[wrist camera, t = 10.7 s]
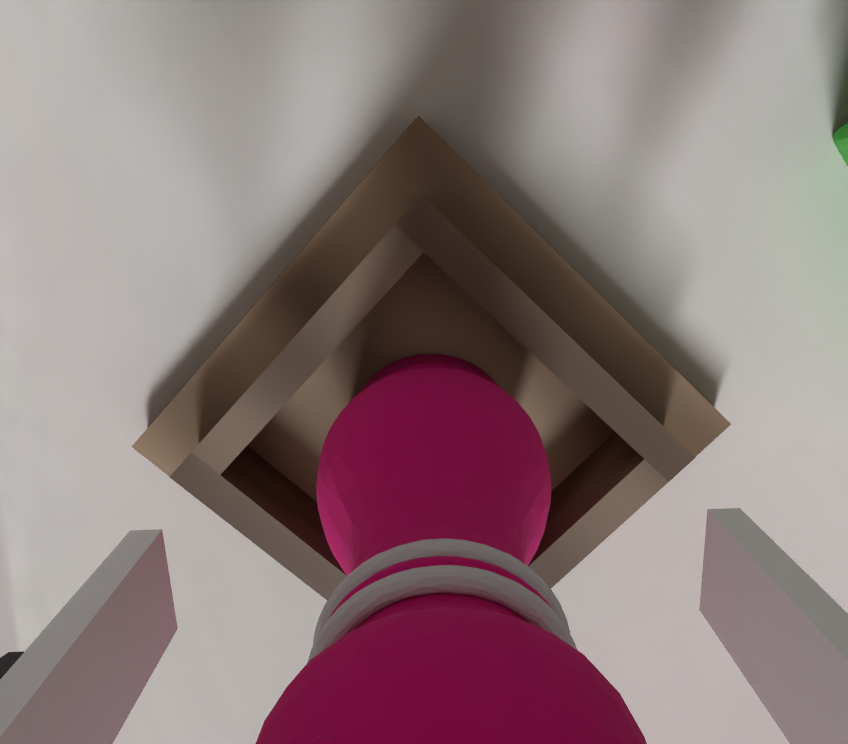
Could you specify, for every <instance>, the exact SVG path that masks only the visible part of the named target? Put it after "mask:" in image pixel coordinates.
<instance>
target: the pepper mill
mask: <svg viewBox="0 0 848 744" xmlns="http://www.w3.org/2000/svg"><path fill="white" fill-rule="evenodd" d="M316 493H317V505H318V511H319V515H320V519H321V522H322V526H323V530H324V533H325V536H326V540H327V542H328V544H329V546H330V549H331V551H332V553H333V555H334V557H335V558H336V560H337V561H338V563H339V564H340V566H341V567H342V569H343V571H344V572H345V574H346V575H347V576H346V577H345V578H344V580H343V581H342V582H341V583H340V584H339V585H338V586H337V587H336V589H335V590H334V591H333V593H332V594H331V596H330V598H329V599H328V601H327V602H326V604H325V606H324V608H323V610H322V612H321V615H320V617H319V620H318V623H317V626H316V630H315V635H314V641H313V648H312V650H311V653H310V656H309V660H308V663H307V665H306V666H305V667H304V668H303V669H302V670H301V671H300V673H299V674H298V675H297V676H296V677H295V678H294V680H293V681H292V682H291V683H290V684H289V685H288V686H287V688H286V689H285V691H284V692H283V694H282V695H281V697H280V698H279V700H278V701H277V703H276V705H275V706H274V708H273V709H272V711H271V712H270V714H269V715H268V717H267V718H266V720H265V721H264V724H263V726H262V729H261V732H260V734H259V737H258V739H257V742H256V744H647V743H646V741H645V738H644V736H643V734H642V732H641V730H640V729H639V727H638V725H637V723H636V722H635V720H634V718H633V716H632V714H631V713H630V711H629V709H628V707H627V706H626V704H625V702H624V700H623V698H622V697H621V695H620V693H619V692H618V691H617V690H616V689H615V688H614V687H613V686H612V685H611V684H610V683H609V681H608V680H607V679H606V678H605V677H604V676H603V675H602V674H601V673H600V672H599V671H598V670H597V668H596V667H595V666H594V665H593V664H592V663H591V662H590V661H589V660H588V659H587V658H586V657H585V656H584V655H583V654H582V653H580V652H579V651H578V650H577V648H576V645H575V643H574V641H573V639H572V637H571V635H570V631H569V627H568V623H567V619H566V616H565V614H564V612H563V609H562V607H561V605H560V603H559V601H558V599H557V598H556V596H555V595H554V593H553V592H552V590H551V589H550V588H549V587H548V585H547V584H546V583H545V582H544V581H543V579H542V578H541V577H540V576H539V575H538V574H537V573H535V572H534V571H533V570H532V569H531V568H530V567H529V566H528V565H529V563H530V561H531V560H532V558H533V556H534V555H535V553H536V551H537V549H538V546H539V544H540V541H541V539H542V536H543V534H544V531H545V526H546V522H547V517H548V512H549V507H550V502H551V475H550V469H549V463H548V459H547V455H546V452H545V448H544V445H543V443H542V440H541V437H540V434H539V432H538V430H537V428H536V427H535V425H534V423H533V421H532V420H531V418H530V416H529V415H528V414H527V413H526V411H525V410H524V409H523V408H522V407H521V405H520V404H519V403H518V402H517V401H516V400H515V399H514V398H513V397H512V396H510V395H509V394H508V393H507V392H505V391H504V390H503V389H501V388H500V387H499V386H498V384H497V383H496V382H495V381H494V380H493V379H492V378H491V377H490V376H489V375H488V374H486V373H485V372H484V371H483V370H482V369H480V368H479V367H477V366H475V365H473V364H472V363H470V362H468V361H465V360H463V359H460V358H458V357H454V356H448V355H442V354H418V355H413V356H409V357H405V358H402V359H400V360H398V361H396V362H393V363H391V364H389V365H387V366H385V367H384V368H382V369H381V370H379V371H378V372H377V373H376V374H374V375H373V376H372V377H371V379H370V380H369V381H368V382H367V383H366V384H365V385H364V386H363V387H362V389H361V390H360V392H359V393H358V394H357V395H356V396H355V397H354V398H353V399H352V400H351V402H350V403H349V404H348V405H347V406H346V407H345V408H344V409H343V410H342V411H341V412H340V414H339V415H338V417H337V418H336V420H335V421H334V423H333V424H332V426H331V427H330V430H329V432H328V434H327V436H326V439H325V441H324V443H323V447H322V451H321V455H320V459H319V467H318V476H317V484H316Z"/></svg>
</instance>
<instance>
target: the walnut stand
mask: <svg viewBox="0 0 848 744" xmlns="http://www.w3.org/2000/svg"><path fill="white" fill-rule="evenodd" d="M418 354H442V355H448V356H454V357H458V358H460V359H463V360H465V361H468V362H470V363H472V364H473V365H475V366H477V367H479V368H480V369H482V370H483V371H484V372H485V373H486V374H488V375H489V376H490V377H491V378H492V379H493V380H494V381H495V382H496V383H497V384H498V386H499V387H500V388H501V389H503V390H504V391H505V392H507V393H508V394H509V395H510V396H512V397H513V398H514V399H515V400H516V401H517V402H518V403H519V404H520V405H521V407H522V408H523V409H524V410H525V411H526V413H527V414H528V415H529V416H530V418H531V420H532V421H533V423H534V425H535V427H536V428H537V430H538V432H539V434H540V437H541V440H542V443H543V445H544V448H545V452H546V455H547V459H548V463H549V469H550V475H551V502H550V507H549V512H548V517H547V522H546V526H545V531H544V534H543V536H542V539H541V541H540V544H539V546H538V549H537V551H536V553H535V555H534V556H533V558H532V560H531V561H530V563H529V565H528V566H529V567H530V568H531V569H532V570H533V571H534V572H535V573H537V574H538V575H539V576H540V577H541V578H542V579H543V581H544V582H545V583H546V584H547V585H548V587H549V588H550V589H551V588H552V587H553V586H554V585H555V584H556V583H557V582H559V581H560V580H561V579H562V578H563V577H564V576H565V575H566V574H567V573H569V572H570V571H571V570H572V569H573V568H574V567H575V566H576V565H577V564H578V563H580V562H581V561H582V560H583V559H584V558H585V557H586V556H587V555H588V554H589V553H591V552H592V551H593V550H594V549H595V548H596V547H597V546H598V545H599V544H601V543H602V542H603V541H604V540H605V539H606V538H607V537H608V536H609V535H610V534H612V533H613V532H614V531H615V530H616V529H617V528H618V527H619V526H620V525H621V524H623V523H624V522H625V521H626V520H627V519H628V518H629V517H630V516H631V515H633V514H634V513H635V512H636V511H637V510H638V509H639V508H640V507H641V506H642V505H644V504H645V503H646V502H647V501H648V500H649V499H650V498H651V497H652V496H653V495H655V494H656V493H657V492H658V491H659V490H660V489H661V488H662V487H663V486H665V485H666V484H667V483H668V482H669V481H670V480H671V479H672V478H673V477H674V476H676V475H677V474H678V473H679V472H680V471H681V470H682V469H683V468H684V467H685V466H687V465H688V464H689V463H690V462H691V461H692V460H693V459H694V458H695V457H696V456H697V455H698V454H699V453H700V452H701V451H702V450H703V449H704V448H705V447H707V446H708V445H709V444H710V443H711V442H712V441H713V440H714V439H715V438H716V437H718V436H719V435H720V434H721V433H722V432H723V431H724V430H725V429H726V428H728V427H729V426H730V425H731V424H730V423H729V422H728V421H727V420H726V419H725V418H724V417H723V416H722V415H721V414H720V413H719V412H718V411H717V410H716V409H715V408H714V407H713V406H712V405H711V404H710V403H709V402H708V401H707V400H706V399H705V398H704V397H703V396H702V395H701V394H700V393H699V392H698V391H697V390H696V389H695V388H694V387H693V386H692V385H691V384H690V383H689V382H688V381H687V380H686V379H685V378H684V377H683V376H682V375H681V374H680V373H679V372H678V371H677V370H676V369H675V368H674V367H673V366H672V365H671V364H670V363H669V362H668V361H667V360H666V359H665V358H664V357H663V356H662V355H661V354H660V353H659V352H658V351H656V350H655V349H654V348H653V347H652V346H651V345H650V344H649V343H648V342H647V341H646V340H645V339H644V338H643V337H642V336H641V335H640V334H639V333H638V332H637V331H636V330H635V329H634V328H633V327H632V326H631V325H630V324H629V323H628V322H627V321H626V320H625V319H624V318H623V317H622V316H621V315H620V314H619V313H618V312H617V311H616V310H615V309H614V308H613V307H612V306H611V305H610V304H609V303H608V302H607V301H606V300H605V299H604V298H603V297H602V296H601V295H600V294H599V293H598V292H597V291H596V290H595V289H594V288H593V287H592V286H591V285H590V284H589V283H588V282H587V281H586V280H585V279H584V278H583V277H582V276H580V275H579V274H578V273H577V272H576V271H575V270H574V269H573V268H572V267H571V266H570V265H569V264H568V263H567V262H566V261H565V260H564V259H563V258H562V257H561V256H560V255H559V254H558V253H557V252H556V251H555V250H554V249H553V248H552V247H551V246H550V245H549V244H548V243H547V242H546V241H545V240H544V239H543V238H542V237H541V236H540V235H539V234H538V233H537V232H536V231H535V230H534V229H533V228H532V227H531V226H530V225H529V224H528V223H527V222H526V221H525V220H524V219H523V218H522V217H521V216H520V215H519V214H518V213H517V212H516V211H515V210H514V209H513V208H512V207H511V206H510V205H509V204H508V203H507V202H505V201H504V200H503V199H502V198H501V197H500V196H499V195H498V194H497V193H496V192H495V191H494V190H493V189H492V188H491V187H490V186H489V185H488V184H487V183H486V182H485V181H484V180H483V179H482V178H481V177H480V176H479V175H478V174H477V173H476V172H475V171H474V170H473V169H472V168H471V167H470V166H469V165H468V164H467V163H466V162H465V161H464V160H463V159H462V158H461V157H460V156H459V155H458V154H457V153H456V152H455V151H454V150H453V149H452V148H451V147H450V146H449V145H448V144H447V143H446V142H445V141H444V140H443V139H442V138H441V137H440V136H439V135H438V134H437V133H436V132H435V131H434V130H433V129H432V128H431V127H429V126H428V125H427V124H426V123H425V122H424V121H423V120H422V119H421V118H420V117H419V116H418V117H417V118H416V119H415V120H414V121H413V123H412V124H411V125H410V126H409V127H408V128H407V130H406V131H405V132H404V133H403V134H402V135H401V136H400V138H399V139H398V140H397V141H396V142H395V143H394V145H393V146H392V147H391V148H390V149H389V150H388V151H387V153H386V154H385V155H384V156H383V157H382V158H381V160H380V161H379V162H378V163H377V164H376V165H375V166H374V168H373V169H372V170H371V171H370V172H369V173H368V175H367V176H366V177H365V178H364V179H363V180H362V181H361V183H360V184H359V185H358V186H357V187H356V188H355V190H354V191H353V192H352V193H351V194H350V195H349V196H348V198H347V199H346V200H345V201H344V202H343V203H342V205H341V206H340V207H339V208H338V209H337V210H336V211H335V213H334V214H333V215H332V216H331V217H330V218H329V220H328V221H327V222H326V223H325V224H324V225H323V226H322V228H321V229H320V230H319V231H318V232H317V233H316V235H315V236H314V237H313V238H312V239H311V240H310V241H309V243H308V244H307V245H306V246H305V247H304V248H303V250H302V251H301V252H300V253H299V254H298V255H297V256H296V258H295V259H294V260H293V261H292V262H291V263H290V265H289V266H288V267H287V268H286V269H285V270H284V271H283V273H282V274H281V275H280V276H279V277H278V278H277V280H276V281H275V282H274V283H273V284H272V285H271V286H270V288H269V289H268V290H267V291H266V292H265V293H264V295H263V296H262V297H261V298H260V299H259V300H258V301H257V303H256V304H255V305H254V306H253V307H252V308H251V310H250V311H249V312H248V313H247V314H246V315H245V316H244V318H243V319H242V320H241V321H240V322H239V323H238V325H237V326H236V327H235V328H234V329H233V330H232V331H231V333H230V334H229V335H228V336H227V337H226V338H225V340H224V341H223V342H222V343H221V344H220V345H219V347H218V348H217V349H216V350H215V351H214V352H213V353H212V355H211V356H210V357H209V358H208V359H207V360H206V362H205V363H204V364H203V365H202V366H201V367H200V368H199V370H198V371H197V372H196V373H195V374H194V375H193V377H192V378H191V379H190V380H189V381H188V382H187V383H186V385H185V386H184V387H183V388H182V389H181V390H180V392H179V393H178V394H177V395H176V396H175V397H174V398H173V400H172V401H171V402H170V403H169V404H168V405H167V407H166V408H165V409H164V410H163V411H162V412H161V413H160V415H159V416H158V417H157V418H156V419H155V420H154V422H153V423H152V424H151V425H150V426H149V427H148V428H147V430H146V431H145V432H144V433H143V434H142V435H141V437H140V438H139V439H138V440H137V441H136V442H135V443H134V445H133V446H132V447H133V448H134V449H135V450H136V451H138V452H139V453H140V454H142V455H143V456H144V457H145V458H147V459H148V460H149V461H151V462H152V463H153V464H154V465H156V466H157V467H158V468H160V469H161V470H162V471H163V472H165V473H166V474H167V475H168V476H170V478H171V479H173V480H174V481H175V482H176V483H178V484H179V485H180V486H182V487H183V488H184V489H185V490H187V491H188V492H189V493H191V494H192V495H193V496H194V497H196V498H197V499H198V500H200V501H201V502H202V503H203V504H205V505H206V506H207V507H208V508H210V509H211V510H212V511H214V512H215V513H216V514H217V515H219V516H220V517H221V518H223V519H224V520H225V521H226V522H228V523H229V524H230V525H232V526H233V527H234V528H235V529H237V530H238V531H239V532H240V533H242V534H243V535H244V536H246V537H247V538H248V539H249V540H251V541H252V542H253V543H255V544H256V545H257V546H258V547H260V548H261V549H262V550H264V551H265V552H266V553H267V554H269V555H270V556H271V557H272V558H274V559H275V560H276V561H278V562H279V563H280V564H281V565H283V566H284V567H285V568H287V569H288V570H289V571H290V572H292V573H293V574H294V575H295V576H297V577H298V578H299V579H301V580H302V581H303V582H304V583H306V584H307V585H308V586H310V587H311V588H312V589H313V590H315V591H316V592H317V593H319V594H320V595H321V596H322V597H324V598H325V599H326V600H327V601H328V599H329V598H330V596H331V594H332V593H333V591H334V590H335V589H336V587H337V586H338V585H339V584H340V583H341V582H342V581H343V580H344V578H345V577H346V576H347V575H346V574H345V572H344V571H343V569H342V567H341V566H340V564H339V563H338V561H337V560H336V558H335V557H334V555H333V553H332V551H331V549H330V546H329V544H328V542H327V540H326V536H325V533H324V530H323V526H322V522H321V519H320V515H319V511H318V505H317V493H316V484H317V476H318V467H319V459H320V455H321V451H322V447H323V443H324V441H325V439H326V436H327V434H328V432H329V430H330V427H331V426H332V424H333V423H334V421H335V420H336V418H337V417H338V415H339V414H340V412H341V411H342V410H343V409H344V408H345V407H346V406H347V405H348V404H349V403H350V402H351V400H352V399H353V398H354V397H355V396H356V395H357V394H358V393H359V392H360V390H361V389H362V387H363V386H364V385H365V384H366V383H367V382H368V381H369V380H370V379H371V377H372V376H373V375H374V374H376V373H377V372H378V371H379V370H381V369H382V368H384V367H385V366H387V365H389V364H391V363H393V362H396V361H398V360H400V359H402V358H405V357H409V356H413V355H418Z"/></svg>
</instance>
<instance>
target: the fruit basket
mask: <svg viewBox="0 0 848 744" xmlns="http://www.w3.org/2000/svg"><path fill="white" fill-rule="evenodd" d="M833 141H834V143H835V145H836V146H837V148H838V150H839V152H840V153H841V155H842V157H843V159H844V160H845V162H846V164H847V165H848V123H846V124H845V125H843V126H842V127H840V128H839V129H838V130H837V131H836V132H835V134H834V136H833Z"/></svg>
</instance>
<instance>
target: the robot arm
mask: <svg viewBox="0 0 848 744" xmlns="http://www.w3.org/2000/svg"><path fill="white" fill-rule="evenodd" d="M700 611H701V613H702V614H703V615H704V617H705V618H706V620H707V621H708V623H709V624H710V626H711V627H712V629H713V630H714V632H715V633H716V635H717V636H718V638H719V639H720V641H721V642H722V644H723V645H724V647H725V648H726V649H727V651H728V652H729V654H730V655H731V657H732V658H733V660H734V661H735V663H736V664H737V666H738V667H739V669H740V670H741V672H742V673H743V675H744V676H745V678H746V679H747V681H748V682H749V684H750V685H751V686H752V688H753V689H754V691H755V692H756V694H757V695H758V697H759V698H760V700H761V701H762V703H763V704H764V706H765V707H766V709H767V710H768V712H769V713H770V715H771V716H772V718H773V719H774V721H775V722H776V723H777V725H778V726H779V728H780V729H781V731H782V732H783V734H784V735H785V737H786V738H787V740H788V741H789V743H790V744H848V613H847V612H846V611H845V610H843V609H842V608H841V607H840V606H839V605H838V604H837V603H836V602H835V601H834V600H833V599H832V598H831V597H830V596H829V595H828V594H827V593H826V592H825V591H824V590H823V589H822V588H821V587H820V586H819V585H818V584H817V583H816V582H815V581H814V580H813V579H812V578H811V577H810V576H809V575H808V574H807V573H806V572H805V571H803V570H802V569H801V568H800V567H799V566H798V565H797V564H796V563H795V562H794V561H793V560H792V559H791V558H790V557H789V556H788V555H787V554H786V553H785V552H784V551H783V550H782V549H781V548H780V547H779V546H778V545H777V544H776V543H775V542H774V541H773V540H772V539H771V538H770V537H769V536H768V535H767V534H766V533H765V532H763V531H762V530H761V529H760V528H759V527H758V526H757V525H756V524H755V523H754V522H753V521H752V520H751V519H750V518H749V517H748V516H747V515H746V514H745V513H744V512H743V511H742V510H741V509H740V508H731V509H708V511H707V523H706V536H705V548H704V561H703V573H702V586H701V598H700ZM176 630H177V622H176V616H175V610H174V603H173V597H172V590H171V584H170V577H169V571H168V565H167V558H166V552H165V545H164V539H163V533H162V530H135V531H130V532H129V533H128V534H127V535H126V536H125V537H124V538H123V540H122V541H121V542H120V543H119V544H118V545H117V547H116V548H115V549H114V550H113V551H112V552H111V553H110V555H109V556H108V557H107V558H106V559H105V560H104V561H103V563H102V564H101V565H100V566H99V567H98V568H97V569H96V571H95V572H94V573H93V574H92V575H91V576H90V577H89V579H88V580H87V581H86V582H85V583H84V584H83V585H82V587H81V588H80V589H79V590H78V591H77V592H76V593H75V595H74V596H73V597H72V598H71V599H70V600H69V602H68V603H67V604H66V605H65V606H64V607H63V608H62V610H61V611H60V612H59V613H58V614H57V615H56V616H55V618H54V619H53V620H52V621H51V622H50V623H49V624H48V626H47V627H46V628H45V629H44V630H43V631H42V632H41V634H40V635H39V636H38V637H37V638H36V639H35V640H34V642H33V643H32V644H31V645H30V646H29V647H28V648H27V650H26V651H25V652H8V653H7V654H5V655H4V656H2V657H1V658H0V744H112V743H113V742H114V740H115V738H116V736H117V735H118V733H119V731H120V729H121V727H122V726H123V724H124V722H125V720H126V719H127V717H128V715H129V713H130V712H131V710H132V708H133V706H134V704H135V703H136V701H137V699H138V697H139V696H140V694H141V692H142V690H143V689H144V687H145V685H146V683H147V681H148V680H149V678H150V676H151V674H152V673H153V671H154V669H155V667H156V666H157V664H158V662H159V660H160V658H161V657H162V655H163V653H164V651H165V650H166V648H167V646H168V644H169V643H170V641H171V639H172V637H173V635H174V634H175V632H176Z"/></svg>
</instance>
